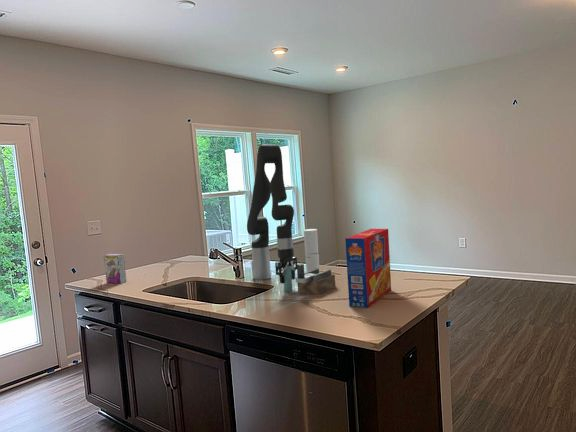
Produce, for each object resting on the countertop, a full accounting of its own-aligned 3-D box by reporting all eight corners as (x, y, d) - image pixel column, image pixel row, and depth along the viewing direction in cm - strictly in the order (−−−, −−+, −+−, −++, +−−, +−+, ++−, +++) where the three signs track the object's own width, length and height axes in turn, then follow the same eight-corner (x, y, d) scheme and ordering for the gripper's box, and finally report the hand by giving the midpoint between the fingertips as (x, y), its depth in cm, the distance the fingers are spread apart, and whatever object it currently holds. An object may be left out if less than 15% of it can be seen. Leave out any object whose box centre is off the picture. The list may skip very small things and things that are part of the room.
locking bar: (295, 282, 200) (293, 265, 200) (308, 277, 209) (307, 260, 208) (303, 283, 197) (302, 265, 197) (316, 278, 206) (315, 261, 205)
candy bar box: (106, 283, 256) (103, 255, 254) (112, 281, 260) (109, 253, 259) (120, 284, 251) (117, 255, 250) (127, 282, 256) (124, 253, 254)
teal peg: (282, 291, 210) (280, 266, 209) (287, 289, 213) (285, 264, 212) (289, 292, 208) (287, 267, 207) (294, 290, 211) (292, 265, 210)
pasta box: (367, 308, 175) (364, 238, 173) (349, 306, 180) (345, 238, 177) (391, 290, 199) (388, 228, 197) (374, 289, 203) (371, 228, 201)
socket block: (298, 291, 208) (296, 274, 207) (314, 284, 219) (313, 268, 218) (319, 294, 201) (318, 276, 200) (335, 286, 212) (334, 269, 211)
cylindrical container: (319, 277, 234) (316, 230, 231) (305, 277, 235) (302, 231, 233) (320, 274, 240) (317, 228, 238) (307, 274, 242) (304, 229, 240)
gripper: (288, 244, 217) (290, 277, 218) (269, 249, 205) (272, 284, 207) (300, 245, 212) (302, 278, 213) (282, 250, 201) (284, 285, 202)
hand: (287, 281), depth 210 cm, fingers open, 7 cm apart
